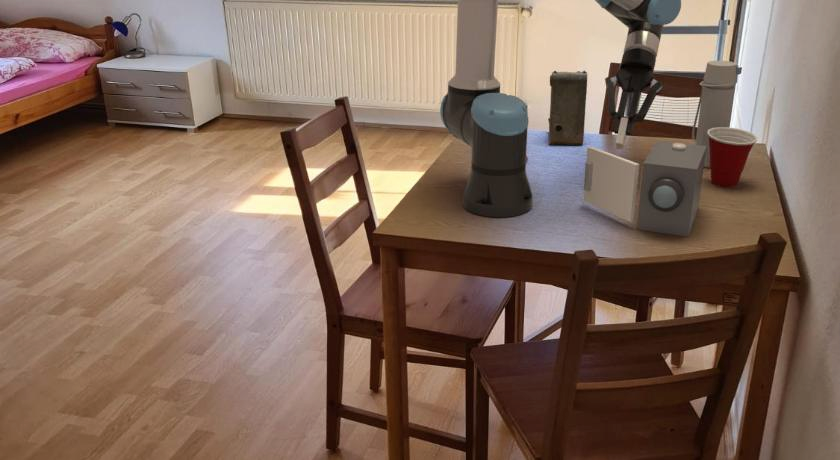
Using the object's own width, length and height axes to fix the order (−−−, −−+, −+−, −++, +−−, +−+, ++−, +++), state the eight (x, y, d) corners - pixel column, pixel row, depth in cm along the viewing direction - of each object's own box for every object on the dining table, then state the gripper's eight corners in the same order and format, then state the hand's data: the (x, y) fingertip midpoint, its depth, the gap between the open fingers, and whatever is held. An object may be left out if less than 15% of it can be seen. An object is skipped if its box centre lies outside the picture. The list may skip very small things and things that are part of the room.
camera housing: (686, 241, 151) (695, 169, 145) (632, 233, 155) (639, 162, 149) (698, 208, 166) (707, 142, 161) (648, 202, 170) (656, 137, 165)
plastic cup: (730, 194, 174) (738, 143, 169) (690, 181, 182) (697, 132, 177) (760, 185, 179) (768, 134, 175) (720, 172, 188) (727, 124, 183)
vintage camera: (579, 132, 223) (582, 62, 215) (584, 146, 208) (588, 71, 201) (545, 132, 224) (547, 62, 216) (548, 146, 209) (550, 72, 202)
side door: (633, 220, 157) (639, 164, 152) (626, 222, 156) (631, 165, 152) (587, 199, 168) (591, 146, 164) (579, 201, 167) (583, 147, 163)
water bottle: (730, 165, 193) (745, 63, 183) (710, 171, 189) (724, 68, 179) (699, 155, 200) (712, 57, 190) (679, 161, 196) (691, 61, 186)
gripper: (669, 67, 180) (650, 157, 173) (612, 63, 185) (591, 151, 178) (668, 48, 173) (649, 141, 166) (609, 44, 178) (588, 134, 171)
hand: (619, 146), depth 172 cm, fingers closed
